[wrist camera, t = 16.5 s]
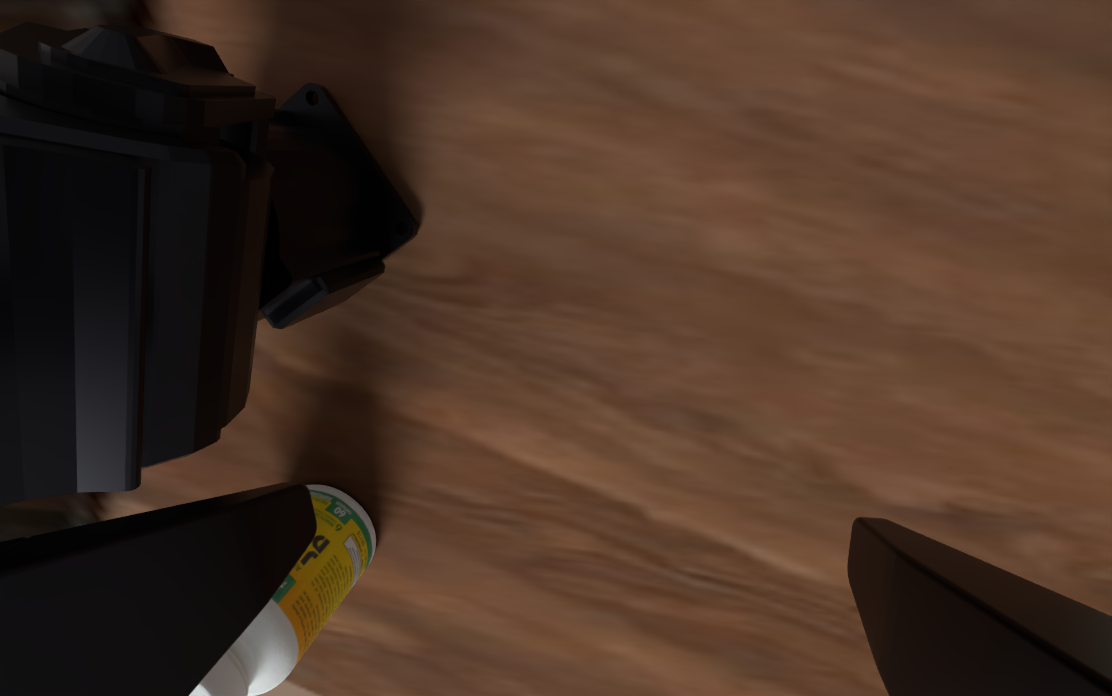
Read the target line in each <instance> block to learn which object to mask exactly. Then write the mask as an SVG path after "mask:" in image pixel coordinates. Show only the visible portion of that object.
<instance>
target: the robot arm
mask: <svg viewBox="0 0 1112 696" xmlns="http://www.w3.org/2000/svg"><path fill="white" fill-rule="evenodd" d="M255 88H256V86H255V85H253V84H250V83H248V82H245V81H243V80H240V79H238V78H235V77H234V75H233V74H231V73H229V72H228V71H227V69H226V67H225V66H224V64H223V62H222V60H221V59H220V57H219V55H218V54H217V52H216V50H215V49H214V47H213V46H210V45H207V44H204V43H201V42H198V41H196V40H193V39H188V38H184V37H180V36H176V35H172V34H168V33H164V32H160V31H156V30H152V29H148V28H143V27H138V26H133V25H97V26H95V27H93V28H91V29H87V28H83V29H76V30H70V31H66V30H62V29H57V28H53V27H49V26H45V25H41V24H37V23H32V22H25V23H23V24H20V25H18V26H16V27H13V28H11V29H9V30H6V31H4V32H2V33H0V507H1V506H5V505H9V504H13V503H17V502H21V501H25V500H31V499H37V498H44V497H50V496H57V495H63V494H70V493H76V492H109V491H131V490H134V489H136V488H138V487H139V486H140V484H141V469H145V468H148V467H151V466H155V465H158V464H162V463H165V462H168V461H172V460H175V459H179V458H182V457H185V456H188V455H190V454H192V453H194V452H196V451H198V450H200V449H203V448H205V447H207V446H209V445H211V444H213V443H215V442H217V441H218V440H219V439H220V434H221V429H222V428H223V427H225V426H226V425H227V424H228V423H229V422H230V421H231V420H232V419H233V418H234V417H235V416H236V415H237V414H238V413H239V412H240V411H241V410H242V409H243V408H244V407H245V404H246V401H247V397H248V393H249V389H250V381H251V372H252V364H253V355H254V346H255V338H256V329H257V321H259V320H262V319H264V318H266V319H267V321H268V322H269V323H270V325H271V326H272V327H273V328H277V329H284V328H286V327H288V326H290V325H293V324H295V323H297V322H300V321H302V320H304V319H306V318H309V317H311V316H313V315H316V314H318V313H320V312H322V311H325V310H327V309H329V308H331V307H334V306H336V305H338V304H341V303H342V302H344V301H345V300H347V299H348V298H350V297H351V296H352V295H354V294H355V293H356V292H358V291H359V290H361V289H362V288H363V287H365V286H366V285H368V284H369V283H370V282H372V281H373V280H374V279H376V278H377V277H379V276H380V275H381V274H383V273H384V270H385V264H384V263H383V260H384V259H386V258H387V257H389V256H390V255H391V254H393V253H394V252H395V251H397V250H398V249H399V248H401V247H402V246H404V245H405V244H406V243H408V242H409V241H410V240H412V239H413V238H414V237H415V236H416V235H417V232H418V224H417V222H416V220H415V218H414V217H413V215H412V214H411V213H410V211H409V210H408V208H407V207H406V205H405V204H404V202H403V201H402V199H401V198H400V196H399V195H398V193H397V192H396V190H395V189H394V187H393V186H392V185H391V183H390V182H389V180H388V179H387V177H386V176H385V174H384V173H383V171H382V170H381V168H380V167H379V165H378V164H377V162H376V161H375V160H374V158H373V157H372V155H371V154H370V152H369V151H368V149H367V148H366V146H365V145H364V143H363V142H362V140H361V139H360V137H359V136H358V134H357V133H356V132H355V130H354V129H353V127H352V126H351V124H350V123H349V121H348V120H347V118H346V117H345V115H344V114H343V112H342V111H341V109H340V108H339V107H338V105H337V104H336V102H335V101H334V99H333V98H332V96H331V95H330V93H329V92H328V90H327V89H326V88H325V87H323V86H321V85H319V84H314V83H308V84H306V85H304V86H303V87H302V88H301V89H300V90H299V91H297V92H296V93H295V94H294V95H293V96H292V97H291V98H290V99H289V100H288V101H287V102H286V103H285V104H284V105H283V106H281V107H280V108H279V109H275V100H276V98H275V97H273V96H270V95H267V94H264V93H261V92H259V91H256V90H255ZM315 92H316V93H317V95H318V103H317V105H315V104H314V103H313V100H312V96H313V94H314V93H315ZM401 222H404V223H405V224H406V225H407V227H408V230H407V233H403V232H402V231H401V229H400V223H401ZM316 530H317V520H316V516H315V512H314V507H313V503H312V498H311V494H310V490H309V489H308V487H307V486H306V485H305V484H301V483H280V484H275V485H270V486H266V487H261V488H256V489H252V490H247V491H242V492H237V493H233V494H228V495H223V496H219V497H214V498H209V499H205V500H200V501H195V502H191V503H186V504H181V505H176V506H172V507H167V508H162V509H158V510H153V511H148V512H144V513H139V514H134V515H129V516H125V517H120V518H115V519H111V520H106V521H101V522H97V523H92V524H87V525H82V526H78V527H73V528H68V529H64V530H59V531H54V532H50V533H45V534H40V535H35V536H32V537H30V538H28V539H27V538H24V537H22V538H17V539H13V540H8V541H3V542H0V696H189V695H190V694H191V693H192V692H193V690H194V689H195V688H196V687H197V686H198V685H199V683H200V682H201V681H202V680H203V679H204V678H205V676H206V675H207V674H208V673H209V672H210V671H211V669H212V668H213V667H214V666H215V665H216V664H217V662H218V661H219V660H220V659H221V658H222V657H223V655H224V654H225V653H226V652H227V651H228V650H229V648H230V647H231V646H232V645H233V644H234V643H235V641H236V640H237V639H238V638H239V637H240V636H241V634H242V633H243V632H244V631H245V630H246V629H247V627H248V626H249V625H250V624H251V623H252V622H253V620H254V619H255V618H256V617H257V616H258V615H259V613H260V612H261V611H262V610H263V608H264V607H265V606H266V605H267V604H268V602H269V601H270V600H271V598H272V597H273V596H274V594H275V593H276V591H277V590H278V589H279V587H280V586H281V584H282V583H283V582H284V580H285V579H286V577H287V576H288V575H289V573H290V572H291V570H292V569H293V568H294V566H295V565H296V563H297V562H298V561H299V559H300V558H301V556H302V555H303V553H304V552H305V551H306V549H307V548H308V546H309V545H310V544H311V542H312V541H313V539H314V537H315V534H316ZM848 578H849V583H850V586H851V589H852V592H853V596H854V599H855V602H856V605H857V608H858V611H859V614H860V617H861V620H862V623H863V626H864V630H865V633H866V636H867V639H868V642H869V645H870V648H871V651H872V654H873V657H874V660H875V663H876V666H877V669H878V671H879V673H880V676H881V678H882V680H883V683H884V685H885V687H886V690H887V692H888V694H889V696H1112V616H1110V615H1107V614H1105V613H1103V612H1100V611H1098V610H1096V609H1093V608H1091V607H1089V606H1087V605H1084V604H1082V603H1080V602H1077V601H1075V600H1073V599H1070V598H1068V597H1066V596H1063V595H1061V594H1059V593H1056V592H1054V591H1052V590H1049V589H1047V588H1045V587H1042V586H1040V585H1038V584H1035V583H1033V582H1031V581H1028V580H1026V579H1024V578H1022V577H1019V576H1017V575H1015V574H1012V573H1010V572H1008V571H1005V570H1003V569H1001V568H998V567H996V566H994V565H991V564H989V563H987V562H984V561H982V560H980V559H977V558H975V557H973V556H970V555H968V554H966V553H964V552H961V551H959V550H957V549H954V548H952V547H950V546H947V545H945V544H943V543H940V542H938V541H936V540H933V539H931V538H929V537H926V536H924V535H922V534H919V533H917V532H915V531H912V530H910V529H908V528H905V527H903V526H901V525H899V524H896V523H894V522H892V521H889V520H887V519H882V518H867V517H859V518H856V519H855V521H854V522H853V525H852V532H851V540H850V548H849V556H848Z"/></svg>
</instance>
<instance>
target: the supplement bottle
mask: <svg viewBox="0 0 1112 696" xmlns="http://www.w3.org/2000/svg"><path fill="white" fill-rule="evenodd" d="M306 486H307V487H308V489H309V490H310V494H311V498H312V503H313V507H314V512H315V516H316V520H317V530H316V534H315V537H314V539H313V541H312V542H311V544H310V545H309V546H308V548H307V549H306V551H305V552H304V553H303V555H302V556H301V558H300V559H299V561H298V562H297V563H296V565H295V566H294V568H293V569H292V570H291V572H290V573H289V575H288V576H287V577H286V579H285V580H284V582H283V583H282V584H281V586H280V587H279V589H278V590H277V591H276V593H275V594H274V596H273V597H272V598H271V600H270V601H269V602H268V604H267V605H266V606H265V607H264V608H263V610H262V611H261V612H260V613H259V615H258V616H257V617H256V618H255V619H254V620H253V622H252V623H251V624H250V625H249V626H248V627H247V629H246V630H245V631H244V632H243V633H242V634H241V636H240V637H239V638H238V639H237V640H236V641H235V643H234V644H233V645H232V646H231V647H230V648H229V650H228V651H227V652H226V653H225V654H224V655H223V657H222V658H221V659H220V660H219V661H218V662H217V664H216V665H215V666H214V667H213V668H212V669H211V671H210V672H209V673H208V674H207V675H206V676H205V678H204V679H203V680H202V681H201V682H200V683H199V685H198V686H197V687H196V688H195V689H194V690H193V692H192V693H191V694H190V695H189V696H256V695H260V694H263V693H265V692H268V691H269V690H271V689H273V688H275V687H276V686H277V685H279V684H280V683H281V682H282V681H283V680H284V679H285V678H286V677H287V676H288V675H289V674H290V672H291V671H292V670H293V668H294V667H295V666H296V664H297V663H298V662H299V660H300V659H301V657H302V656H303V654H304V653H305V652H306V650H307V649H308V648H309V646H310V645H311V643H312V642H313V641H314V639H315V638H316V637H317V635H318V634H319V632H320V631H321V630H322V628H323V627H324V625H325V624H326V623H327V621H328V620H329V618H330V617H331V616H332V614H333V613H334V611H335V610H336V609H337V607H338V606H339V605H340V603H341V602H342V601H343V599H344V598H345V596H346V595H347V594H348V592H349V591H350V590H351V588H352V587H353V586H354V584H355V583H356V581H357V580H358V578H359V577H360V576H361V574H362V573H363V572H364V570H365V569H366V567H367V566H368V565H369V563H370V562H371V560H372V558H373V556H374V553H375V548H376V534H375V530H374V527H373V524H372V522H371V520H370V518H369V516H368V515H367V513H366V512H365V510H364V509H363V508H362V507H361V506H360V505H359V504H358V503H357V502H356V501H355V500H354V499H353V498H351V497H350V496H349V495H347V494H345V493H344V492H342V491H340V490H338V489H335V488H333V487H329V486H325V485H306Z"/></svg>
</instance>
